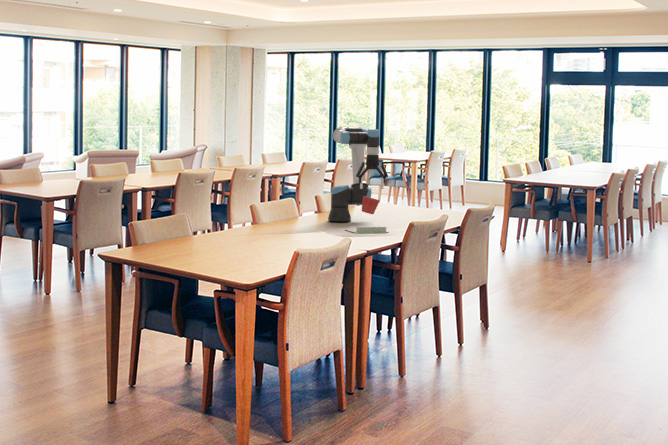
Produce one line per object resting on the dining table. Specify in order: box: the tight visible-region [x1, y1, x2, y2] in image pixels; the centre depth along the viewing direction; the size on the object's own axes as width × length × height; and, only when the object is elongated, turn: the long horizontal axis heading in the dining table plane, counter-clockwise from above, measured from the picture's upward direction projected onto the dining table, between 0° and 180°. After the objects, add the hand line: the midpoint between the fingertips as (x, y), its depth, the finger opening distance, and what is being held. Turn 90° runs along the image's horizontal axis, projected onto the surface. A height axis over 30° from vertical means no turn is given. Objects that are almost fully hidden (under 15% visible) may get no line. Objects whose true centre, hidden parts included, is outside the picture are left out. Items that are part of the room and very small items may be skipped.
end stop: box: [355, 226, 387, 234], centre depth 455 cm, size 2×18×4 cm, turn 106°
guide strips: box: [344, 229, 390, 234], centre depth 464 cm, size 18×22×1 cm
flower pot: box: [361, 196, 381, 215], centre depth 475 cm, size 11×11×10 cm
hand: (371, 188), depth 474 cm, fingers open, 13 cm apart
